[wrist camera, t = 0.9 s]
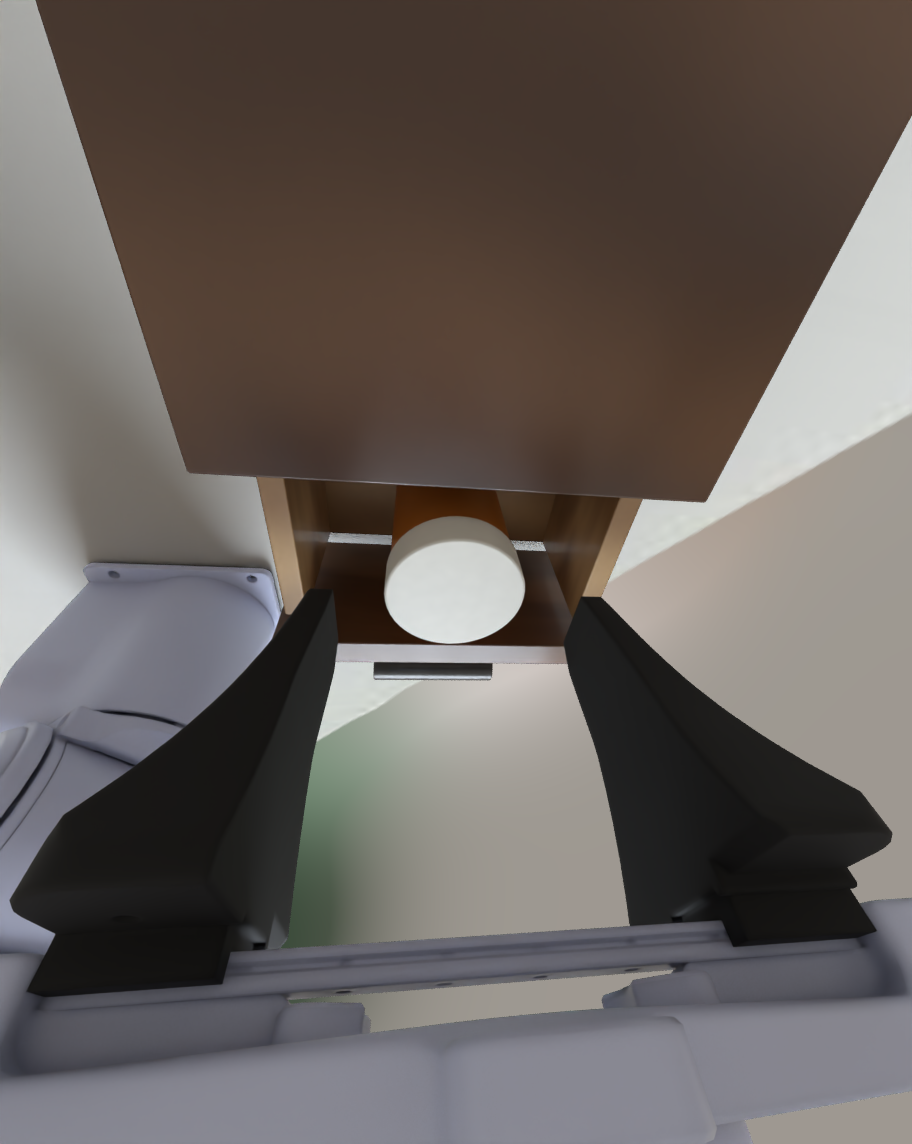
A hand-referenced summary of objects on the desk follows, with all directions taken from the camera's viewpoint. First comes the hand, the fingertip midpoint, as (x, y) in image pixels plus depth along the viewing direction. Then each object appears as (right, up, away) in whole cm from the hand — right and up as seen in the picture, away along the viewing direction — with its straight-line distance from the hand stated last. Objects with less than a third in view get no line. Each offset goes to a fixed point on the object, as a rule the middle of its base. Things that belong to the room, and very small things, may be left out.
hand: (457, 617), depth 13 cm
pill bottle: (-1, +5, +6) cm, 8 cm away
